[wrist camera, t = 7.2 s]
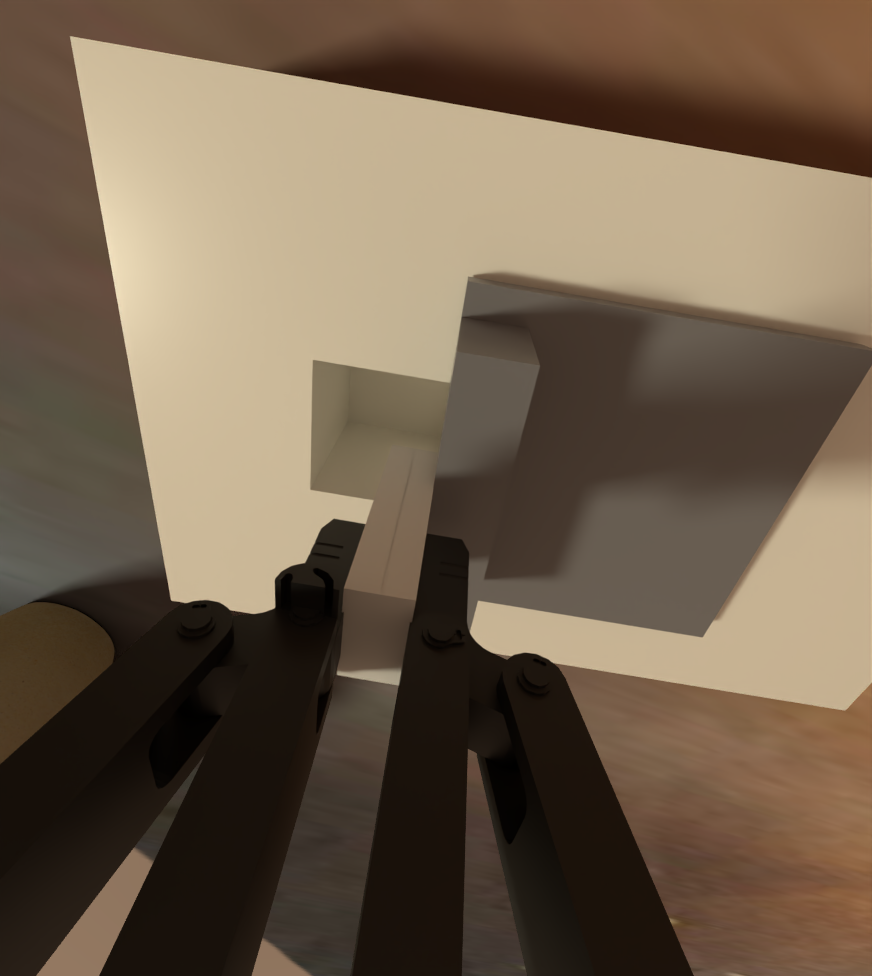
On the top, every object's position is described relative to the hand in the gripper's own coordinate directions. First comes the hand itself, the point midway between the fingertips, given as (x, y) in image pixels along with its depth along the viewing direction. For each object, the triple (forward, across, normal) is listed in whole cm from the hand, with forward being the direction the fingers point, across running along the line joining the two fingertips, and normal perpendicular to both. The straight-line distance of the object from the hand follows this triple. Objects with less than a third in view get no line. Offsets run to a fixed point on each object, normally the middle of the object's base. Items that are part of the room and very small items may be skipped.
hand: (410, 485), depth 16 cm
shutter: (+2, +7, 0) cm, 7 cm away
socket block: (+10, +6, 0) cm, 12 cm away
